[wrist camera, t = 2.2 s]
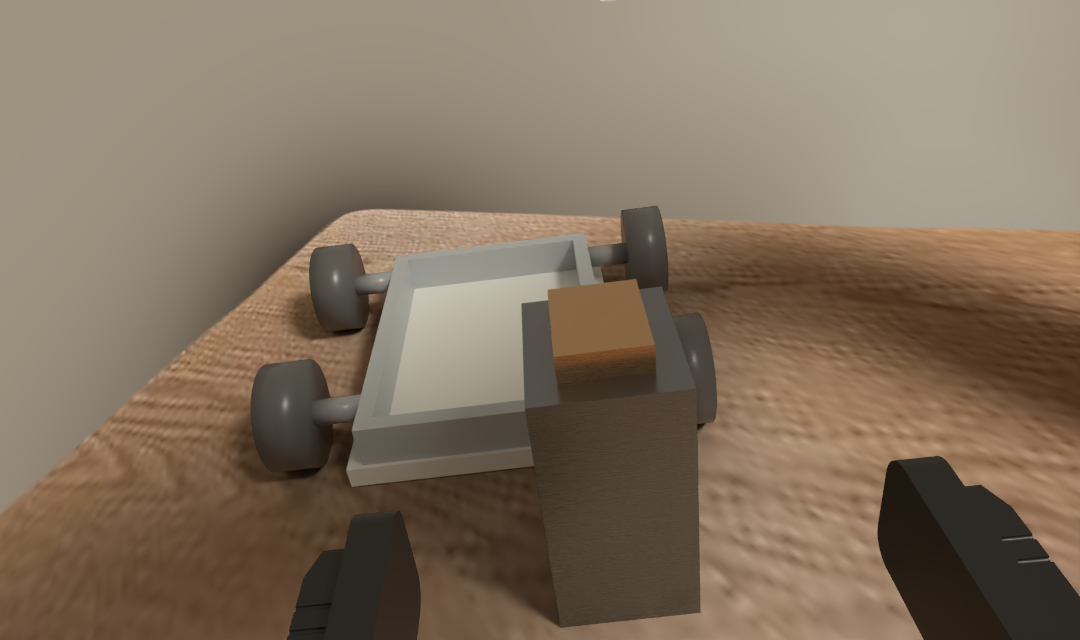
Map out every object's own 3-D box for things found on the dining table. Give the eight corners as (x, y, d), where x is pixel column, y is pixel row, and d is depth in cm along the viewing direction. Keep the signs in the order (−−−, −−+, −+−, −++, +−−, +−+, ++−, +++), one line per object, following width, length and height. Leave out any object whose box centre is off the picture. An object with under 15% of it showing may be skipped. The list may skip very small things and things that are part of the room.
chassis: (655, 266, 50) (652, 192, 47) (716, 445, 35) (716, 353, 33) (341, 304, 50) (320, 233, 48) (275, 495, 36) (240, 409, 33)
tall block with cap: (670, 492, 33) (660, 261, 27) (700, 612, 28) (696, 360, 22) (552, 505, 33) (517, 278, 28) (560, 627, 28) (519, 381, 22)
